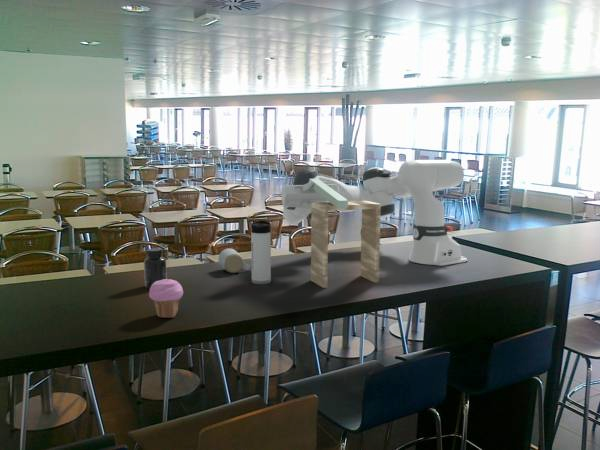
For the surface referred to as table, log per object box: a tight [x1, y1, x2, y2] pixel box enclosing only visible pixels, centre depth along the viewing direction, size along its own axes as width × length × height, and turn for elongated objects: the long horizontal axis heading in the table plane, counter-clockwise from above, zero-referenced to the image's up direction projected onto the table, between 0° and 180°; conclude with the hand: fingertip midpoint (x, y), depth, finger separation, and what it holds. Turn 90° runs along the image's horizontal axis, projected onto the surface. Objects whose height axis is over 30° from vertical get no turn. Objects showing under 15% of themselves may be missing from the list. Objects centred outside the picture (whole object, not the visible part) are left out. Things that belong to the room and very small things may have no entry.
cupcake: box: [148, 278, 184, 319], centre depth 146 cm, size 9×9×10 cm
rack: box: [310, 201, 382, 289], centre depth 181 cm, size 20×10×26 cm, turn 111°
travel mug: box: [250, 219, 272, 285], centre depth 180 cm, size 6×7×20 cm
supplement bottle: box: [143, 247, 168, 290], centre depth 174 cm, size 7×7×12 cm
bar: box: [309, 179, 348, 209], centre depth 180 cm, size 3×24×2 cm, turn 22°
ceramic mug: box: [217, 248, 251, 274], centre depth 196 cm, size 11×8×8 cm
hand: (318, 183), depth 186 cm, fingers closed on bar, 3 cm apart
